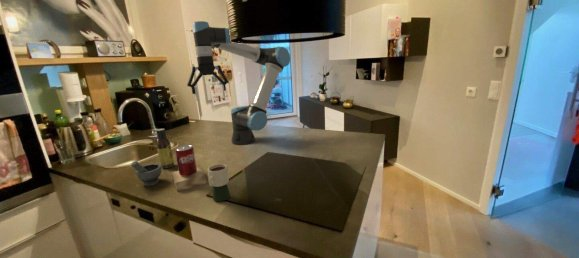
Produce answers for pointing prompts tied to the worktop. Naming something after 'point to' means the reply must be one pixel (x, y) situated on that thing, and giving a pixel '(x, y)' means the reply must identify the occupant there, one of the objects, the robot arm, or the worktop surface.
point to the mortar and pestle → (147, 173)
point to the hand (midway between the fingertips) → (210, 98)
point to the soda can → (186, 160)
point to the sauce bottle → (164, 150)
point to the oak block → (189, 179)
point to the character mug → (219, 181)
